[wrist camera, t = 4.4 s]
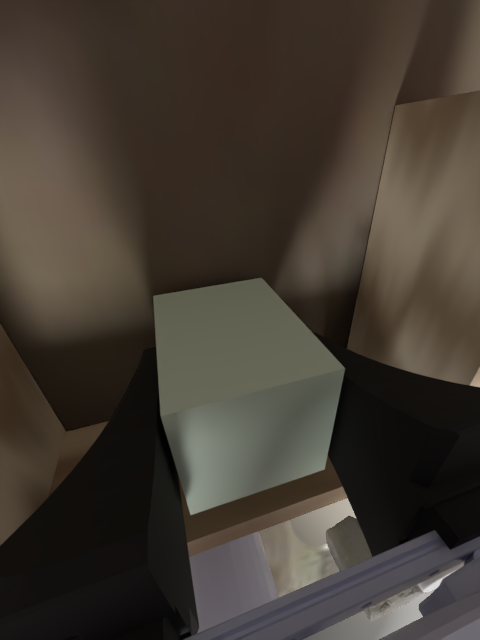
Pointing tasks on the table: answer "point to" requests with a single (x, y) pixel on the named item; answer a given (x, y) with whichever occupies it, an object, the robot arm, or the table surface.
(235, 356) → the sage block
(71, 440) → the open box
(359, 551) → the mineral specimen
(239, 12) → the table surface
